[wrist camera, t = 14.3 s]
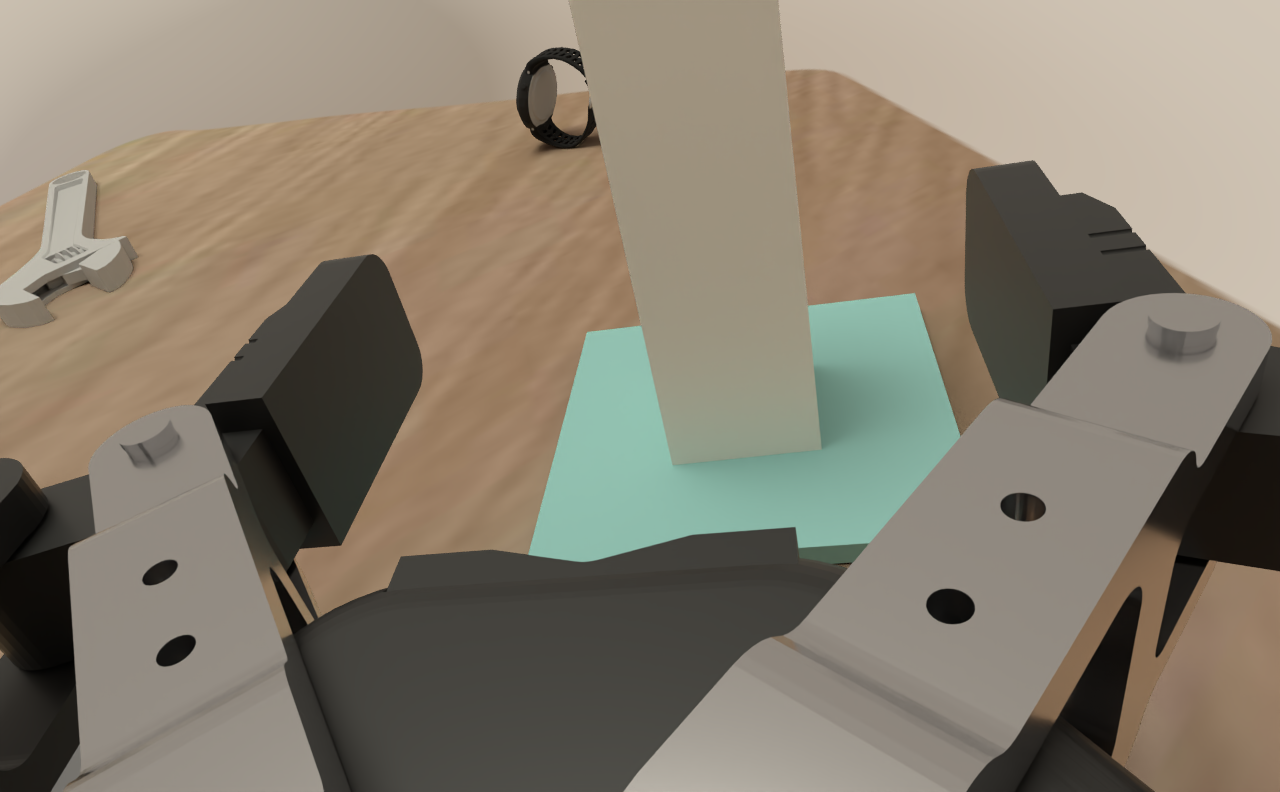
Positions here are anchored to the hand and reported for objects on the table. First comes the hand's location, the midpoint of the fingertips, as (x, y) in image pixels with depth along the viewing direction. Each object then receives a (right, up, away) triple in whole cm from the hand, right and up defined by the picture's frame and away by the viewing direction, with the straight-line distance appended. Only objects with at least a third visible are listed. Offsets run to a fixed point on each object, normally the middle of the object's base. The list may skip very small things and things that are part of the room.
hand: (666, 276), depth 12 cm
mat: (+3, -3, +13) cm, 14 cm away
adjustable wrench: (-33, +7, +41) cm, 53 cm away
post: (+3, -2, +13) cm, 14 cm away
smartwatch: (-4, +12, +37) cm, 39 cm away
